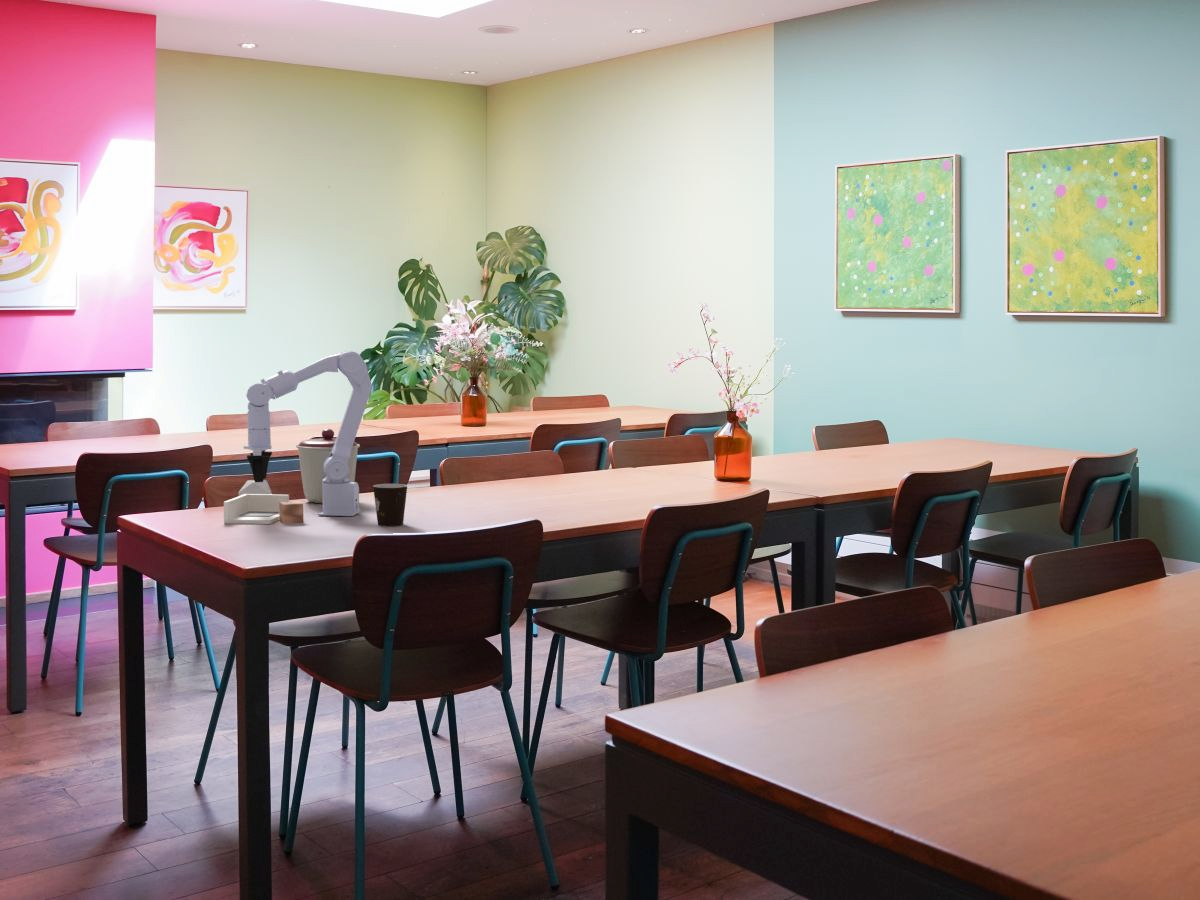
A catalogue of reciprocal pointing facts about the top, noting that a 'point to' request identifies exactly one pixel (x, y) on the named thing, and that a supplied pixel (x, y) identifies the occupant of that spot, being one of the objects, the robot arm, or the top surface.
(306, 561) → the top surface
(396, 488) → the coffee mug
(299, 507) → the cube
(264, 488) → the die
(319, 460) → the canister
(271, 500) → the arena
